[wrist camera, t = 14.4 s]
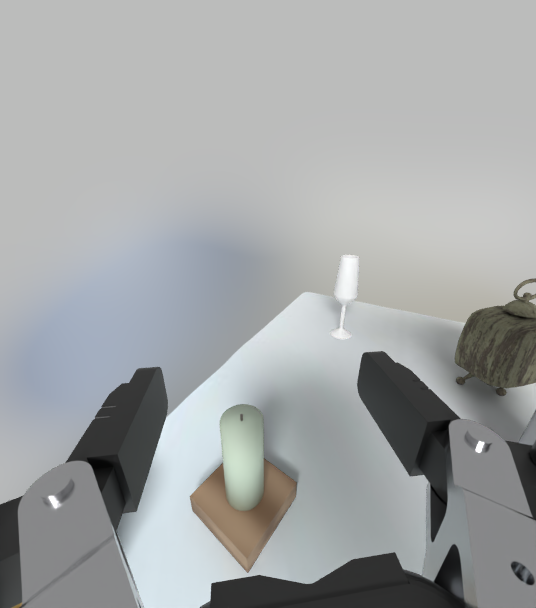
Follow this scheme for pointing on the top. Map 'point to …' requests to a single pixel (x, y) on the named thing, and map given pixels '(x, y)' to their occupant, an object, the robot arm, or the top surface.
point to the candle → (243, 456)
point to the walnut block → (244, 513)
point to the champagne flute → (346, 290)
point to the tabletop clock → (500, 344)
